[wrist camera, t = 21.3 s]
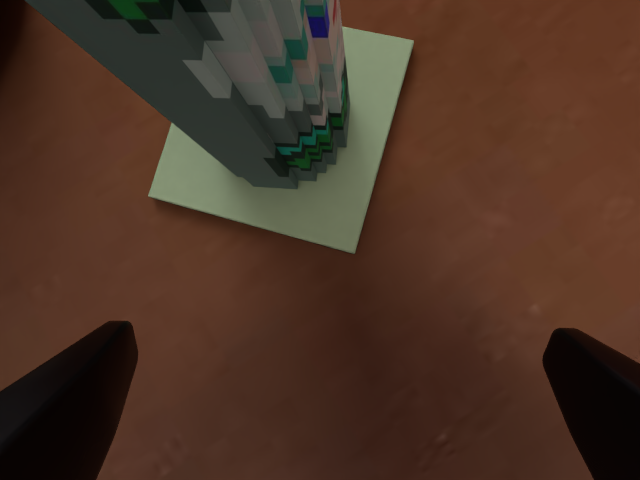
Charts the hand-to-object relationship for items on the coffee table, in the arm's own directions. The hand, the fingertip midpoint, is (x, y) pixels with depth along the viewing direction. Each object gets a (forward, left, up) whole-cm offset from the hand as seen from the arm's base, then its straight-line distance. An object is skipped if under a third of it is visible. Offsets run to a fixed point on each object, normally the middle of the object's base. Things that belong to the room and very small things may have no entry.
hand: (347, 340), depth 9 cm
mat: (-6, +7, -9) cm, 13 cm away
